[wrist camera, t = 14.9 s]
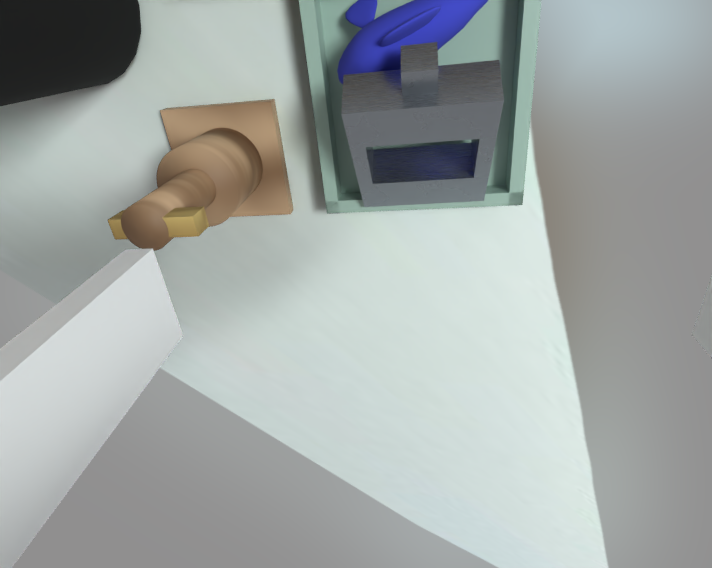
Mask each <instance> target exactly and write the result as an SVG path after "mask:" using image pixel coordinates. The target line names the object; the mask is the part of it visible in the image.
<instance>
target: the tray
mask: <svg viewBox="0 0 712 568" xmlns="http://www.w3.org/2000/svg"><path fill="white" fill-rule="evenodd" d="M357 1H358V0H299V6H300V14H301V21H302V29H303V36H304V44H305V51H306V59H307V66H308V74H309V81H310V89H311V96H312V104H313V111H314V119H315V126H316V134H317V142H318V149H319V157H320V164H321V172H322V179H323V187H324V194H325V202H326V209H327V213H348V212H371V211H394V210H417V209H440V208H463V207H486V206H509V205H522V203H523V192H524V181H525V171H526V160H527V149H528V139H529V128H530V117H531V107H532V96H533V85H534V74H535V63H536V53H537V43H538V31H539V21H540V20H539V19H540V10H541V0H488V1H487V3H486V4H485V5H484V6H483V7H482V8H481V9H480V10H479V11H478V12H477V13H476V14H475V15H474V16H473V18H472V19H471V20H470V21H469V22H468V23H467V25H466V26H465V27H464V28H463V29H462V30H461V31H460V32H459V33H457V34H456V35H455V36H454V37H453V38H452V39H451V40H450V41H448V42H447V43H446V44H445V45H443V46H442V47H441V48H440V49H439V50H438V66H440V65H451V64H461V63H471V62H481V61H491V60H499V62H500V70H501V79H502V87H503V96H504V103H503V108H502V113H501V118H500V123H499V128H498V133H497V138H496V143H495V148H494V153H493V158H492V163H491V168H490V173H489V178H488V183H487V188H486V193H485V198H484V201H472V202H453V203H434V204H415V205H396V206H378V207H364V204H363V200H362V196H361V192H360V188H359V184H358V180H357V176H356V172H355V168H354V163H353V159H352V155H351V151H350V147H349V143H348V139H347V135H346V131H345V127H344V123H343V119H342V115H341V111H342V93H343V84H342V83H341V82H340V81H339V78H338V72H337V69H338V64H339V61H340V59H341V56H342V54H343V52H344V50H345V49H346V47H347V45H348V44H349V43H350V41H351V40H352V39H353V37H354V36H355V35H356V34H357V33H358V31H360V30H361V29H362V28H360V27H357V26H355V25H353V24H351V23H350V22H349V21H348V20H347V19H346V17H345V13H346V12H347V10H348V9H349V8H350V6H352V5H353V4H354V3H355V2H357ZM411 1H413V0H377V9H376V13H375V18H374V19H376V18H378V17H379V16H381V15H383V14H385V13H387V12H389V11H391V10H393V9H395V8H397V7H399V6H402V5H404V4H406V3H408V2H411ZM459 143H471V140H457V141H443V142H430V143H416V144H402V145H389V146H375V147H373V150H376V149H390V148H404V147H418V146H431V145H445V144H459Z"/></svg>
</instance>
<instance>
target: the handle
mask: <svg viewBox="0 0 712 568" xmlns="http://www.w3.org/2000/svg"><path fill="white" fill-rule="evenodd" d="M160 112H161V116H162V119H163V123H164V126H165V129H166V133H167V136H168V140H169V143H170V147H171V150H172V151H170V152H169V153H167V154H166V155H165V156H164V157H163V159H162V160H161V162H160V164H159V166H158V170H157V186H158V188H157V189H156V190H154V191H153V192H151V193H150V194H148V195H147V196H145V197H144V198H142V199H140V200H139V201H137V202H136V203H134V204H133V205H131V206H130V207H128V208H127V209H126V210H122V211H121V212H119V213H118V214H116V215H115V216H113V217H112V218H110V219H109V220H108V223H109V225H110V228H111V230H112V233H113V235H114V238H115V239H129V240H130V241H131V242H132V243H133V244H134V245H136V246H137V247H139V248H142V249H152V248H153V250H159V249H161V248H162V247H164V246H165V245H166V244H167V243H168V242H169V241H170V240H171V239H173V238H174V237H192V236H199V235H200V234H201V233H202V232H203V231H204V230H205V229H206V228H207V227H210V226H215V225H218V224H221V223H222V222H224V221H226V220H227V219H228V218H229V217H236V216H259V215H282V214H291V213H292V211H293V205H292V199H291V193H290V187H289V181H288V176H287V170H286V164H285V158H284V152H283V146H282V141H281V135H280V129H279V123H278V117H277V111H276V106H275V100H274V99H270V100H259V101H247V102H235V103H223V104H211V105H199V106H188V107H176V108H166V109H163V110H160Z"/></svg>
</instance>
